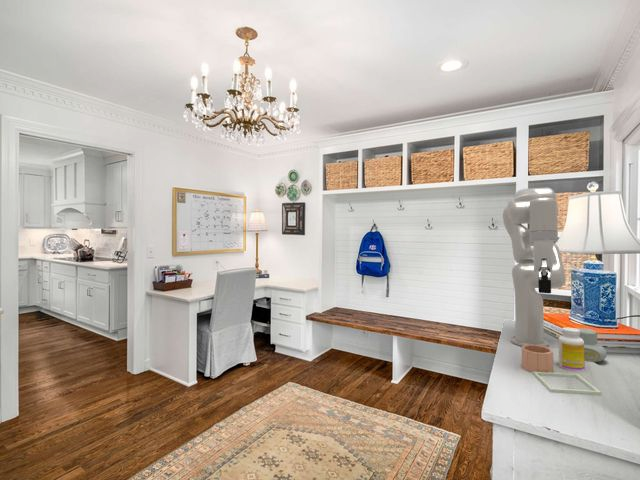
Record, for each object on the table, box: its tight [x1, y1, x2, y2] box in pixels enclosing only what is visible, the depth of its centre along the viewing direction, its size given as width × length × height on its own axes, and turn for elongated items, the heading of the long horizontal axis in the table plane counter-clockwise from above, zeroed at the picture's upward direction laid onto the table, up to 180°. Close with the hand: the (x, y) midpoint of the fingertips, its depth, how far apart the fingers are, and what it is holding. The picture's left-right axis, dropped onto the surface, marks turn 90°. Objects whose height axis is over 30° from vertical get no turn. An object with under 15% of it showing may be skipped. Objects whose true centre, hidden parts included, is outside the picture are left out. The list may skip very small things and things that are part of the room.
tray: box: [532, 372, 602, 396], centre depth 98 cm, size 12×12×2 cm
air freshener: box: [578, 327, 608, 363], centre depth 118 cm, size 11×8×10 cm
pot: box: [521, 345, 555, 373], centre depth 110 cm, size 8×9×7 cm
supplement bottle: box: [558, 327, 586, 372], centre depth 110 cm, size 7×7×13 cm
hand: (544, 291), depth 110 cm, fingers open, 9 cm apart
